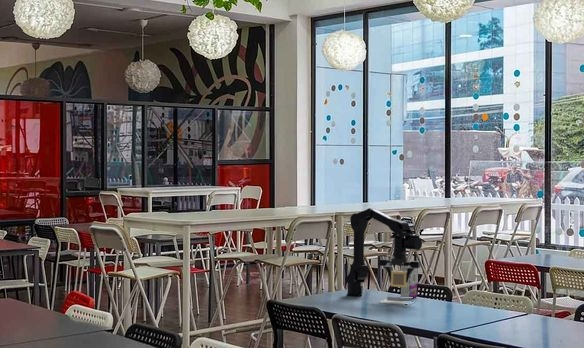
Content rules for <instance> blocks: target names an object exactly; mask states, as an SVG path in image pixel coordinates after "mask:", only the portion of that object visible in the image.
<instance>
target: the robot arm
mask: <svg viewBox="0 0 584 348" xmlns="http://www.w3.org/2000/svg"><path fill="white" fill-rule="evenodd" d="M372 219H374V220H375V221H377V222H379V223H381V224H383V225H385V226H387V227H388V228H389V230H390V231H391V232H393V234H392V235H390V237H389V238H390V239H393V241H394V242H393V252H392V256H391V258H390V259H387V258H381V259H379V260H378V266H379V267H380V266H381V267H383V268H384V269H385V270H386V272H387V274H388V277H389V280H390V281H389V282H391V271H393V266H398V267H399V266H400V267H401V266H408V267H409V268H407V277H406V283H407V282H408V280H409V277H410V275H411V273H412V271H413V270H414V269H416V268H417V269H420V268H421V261H420V260H411V261H408V258H407V250H412V251H413V250H415V251H420V250H421V248H422V246H423V242H422V239H421V238H420V235H419V234H414V233H413V231H412V230H411V227H410V225H409V223H408V222H407V221H404V220H401V219H396V218H393V217H392V216H390V215H387V214H385V213H383V212H381V211H379V210H378V209H377V208H374V207H370V208H369V207H368V208H366V209H365V210H362V211H359V212H355V213H352V214H351V215H350V218H349V222H350V226H351V229H352V231H353V260H352V263H351V265H350V268H349V273H348V275H346V276H345V278H344V281H345V283H346V284H347V294H346V296H348V295H352V297H361V296H363V295H362V294H364V293H363V291H364V286H363V284H364V283H365V281H366V278H367V277H368V274H369V265H367V264H366V263H365V261H364V259H365V231H366V229H367V226H368V222H370V221H372ZM360 295H361V296H360Z"/></svg>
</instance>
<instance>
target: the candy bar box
mask: <svg viewBox="0 0 584 348" xmlns="http://www.w3.org/2000/svg"><path fill="white" fill-rule="evenodd" d="M407 268H409V267H408V266H400V271H402V272H407ZM400 297H415V298H417V297H418V268H416V269H414V270H413V271H412V273H411V275H410V277H409V280H408V282H407V287H400Z"/></svg>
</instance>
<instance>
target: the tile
mask: <svg viewBox="0 0 584 348" xmlns="http://www.w3.org/2000/svg"><path fill="white" fill-rule="evenodd" d="M406 277H407V272H402V271H401V270H400V271H399V270H392V271H391V281H390V287H396V288H401V287H407V283H406Z"/></svg>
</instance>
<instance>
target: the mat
mask: <svg viewBox="0 0 584 348" xmlns="http://www.w3.org/2000/svg"><path fill="white" fill-rule="evenodd" d="M402 301H412V299H411V298H401V296H400V297H399V296H387V297H386V298H385V299H383V300H381V301H379V304H388V305H399V306H406V305H405V304H408V303H405V302H402ZM407 306H411V305H410V304H408V305H407Z"/></svg>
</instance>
